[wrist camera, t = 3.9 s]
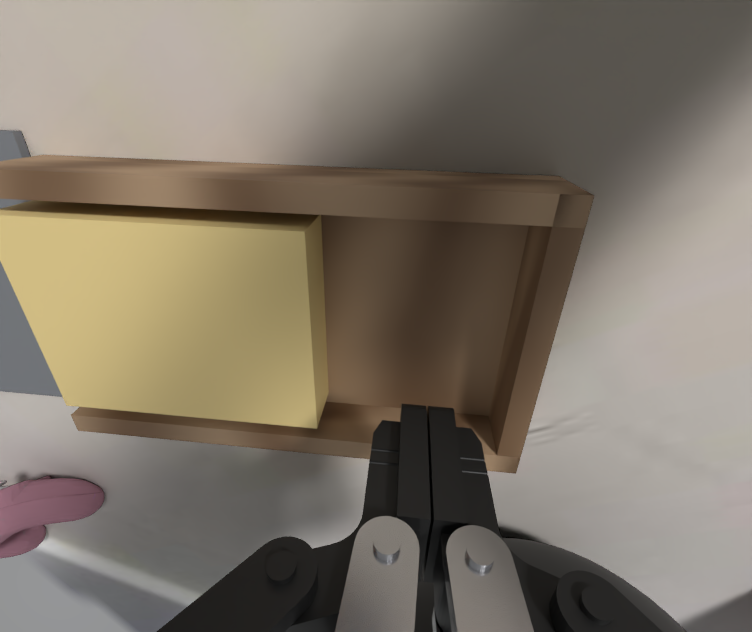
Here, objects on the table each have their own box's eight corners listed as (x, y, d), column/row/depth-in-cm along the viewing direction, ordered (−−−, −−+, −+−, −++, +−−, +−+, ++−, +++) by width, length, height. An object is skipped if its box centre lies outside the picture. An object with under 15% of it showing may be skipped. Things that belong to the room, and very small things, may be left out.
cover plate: (321, 213, 16) (304, 232, 13) (328, 392, 20) (317, 428, 18) (37, 199, 16) (-22, 214, 14) (103, 373, 21) (66, 405, 19)
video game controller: (87, 441, 28) (-50, 493, 21) (115, 501, 27) (-16, 573, 21) (21, 489, 31) (-113, 546, 25) (45, 542, 31) (-86, 614, 24)
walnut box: (559, 176, 15) (594, 195, 12) (501, 418, 21) (515, 473, 18) (42, 154, 17) (-43, 167, 14) (124, 385, 22) (78, 430, 19)
